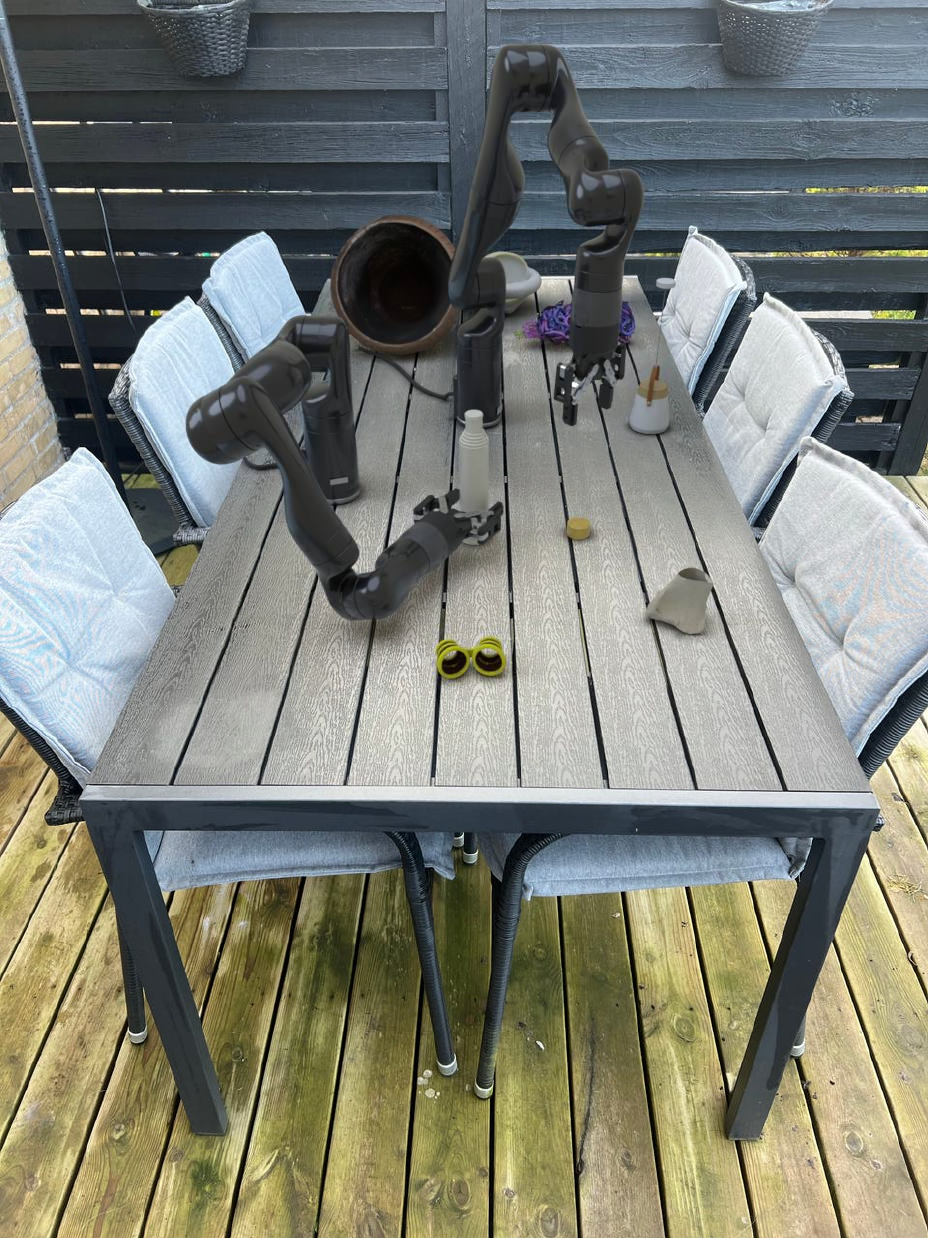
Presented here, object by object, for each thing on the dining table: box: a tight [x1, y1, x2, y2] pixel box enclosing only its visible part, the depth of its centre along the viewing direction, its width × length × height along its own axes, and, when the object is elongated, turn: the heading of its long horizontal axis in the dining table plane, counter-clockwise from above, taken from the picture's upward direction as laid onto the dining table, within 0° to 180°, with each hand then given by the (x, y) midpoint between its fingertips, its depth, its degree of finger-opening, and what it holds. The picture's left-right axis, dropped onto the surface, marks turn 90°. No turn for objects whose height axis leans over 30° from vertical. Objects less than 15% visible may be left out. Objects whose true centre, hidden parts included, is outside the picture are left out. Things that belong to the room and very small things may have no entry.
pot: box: [329, 213, 460, 356], centre depth 230 cm, size 32×32×30 cm
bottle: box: [458, 410, 490, 546], centre depth 155 cm, size 5×5×23 cm
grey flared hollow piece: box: [645, 566, 715, 635], centre depth 139 cm, size 9×8×10 cm
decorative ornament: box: [513, 299, 636, 345], centre depth 229 cm, size 13×11×30 cm
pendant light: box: [628, 277, 677, 435], centre depth 186 cm, size 8×8×30 cm
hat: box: [483, 251, 543, 314], centre depth 248 cm, size 25×22×15 cm
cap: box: [566, 516, 591, 541], centre depth 162 cm, size 4×4×2 cm
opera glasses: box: [435, 635, 507, 679], centre depth 132 cm, size 10×5×5 cm, turn 95°
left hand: (479, 499), depth 159 cm, fingers open, 8 cm apart
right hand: (587, 415), depth 149 cm, fingers open, 8 cm apart
